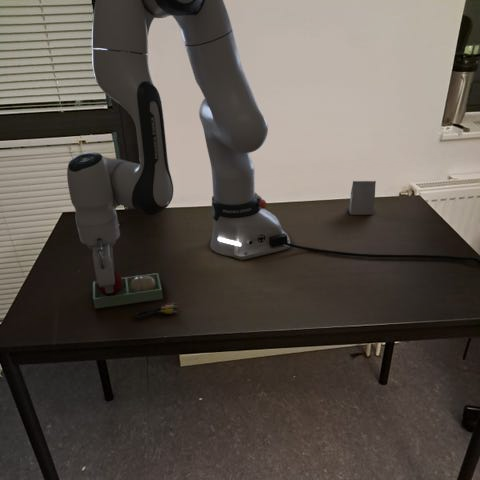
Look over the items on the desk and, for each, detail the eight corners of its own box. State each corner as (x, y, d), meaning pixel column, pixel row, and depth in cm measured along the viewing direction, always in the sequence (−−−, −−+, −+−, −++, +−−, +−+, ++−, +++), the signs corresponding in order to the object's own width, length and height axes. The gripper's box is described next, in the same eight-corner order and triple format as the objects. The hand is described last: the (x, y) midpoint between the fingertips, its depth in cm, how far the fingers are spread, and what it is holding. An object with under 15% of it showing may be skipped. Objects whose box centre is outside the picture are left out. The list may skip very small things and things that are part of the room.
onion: (118, 304, 120) (113, 274, 116) (96, 302, 122) (89, 272, 117) (128, 291, 125) (122, 262, 120) (106, 289, 126) (100, 260, 121)
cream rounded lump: (155, 286, 127) (153, 271, 124) (157, 294, 124) (155, 279, 121) (131, 289, 126) (128, 274, 123) (132, 298, 122) (129, 283, 120)
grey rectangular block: (372, 214, 159) (376, 183, 154) (350, 214, 160) (353, 183, 154) (370, 209, 162) (374, 179, 157) (349, 209, 163) (352, 179, 157)
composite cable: (135, 321, 115) (133, 312, 114) (136, 309, 119) (135, 300, 118) (179, 318, 116) (178, 309, 114) (179, 306, 120) (178, 297, 118)
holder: (159, 282, 129) (158, 272, 127) (163, 299, 122) (161, 289, 121) (95, 291, 126) (92, 281, 124) (95, 309, 120) (92, 299, 118)
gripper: (115, 249, 105) (125, 305, 113) (112, 210, 122) (121, 261, 130) (83, 253, 104) (96, 309, 112) (84, 213, 121) (95, 265, 129)
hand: (109, 283), depth 121 cm, fingers closed on onion, 6 cm apart
